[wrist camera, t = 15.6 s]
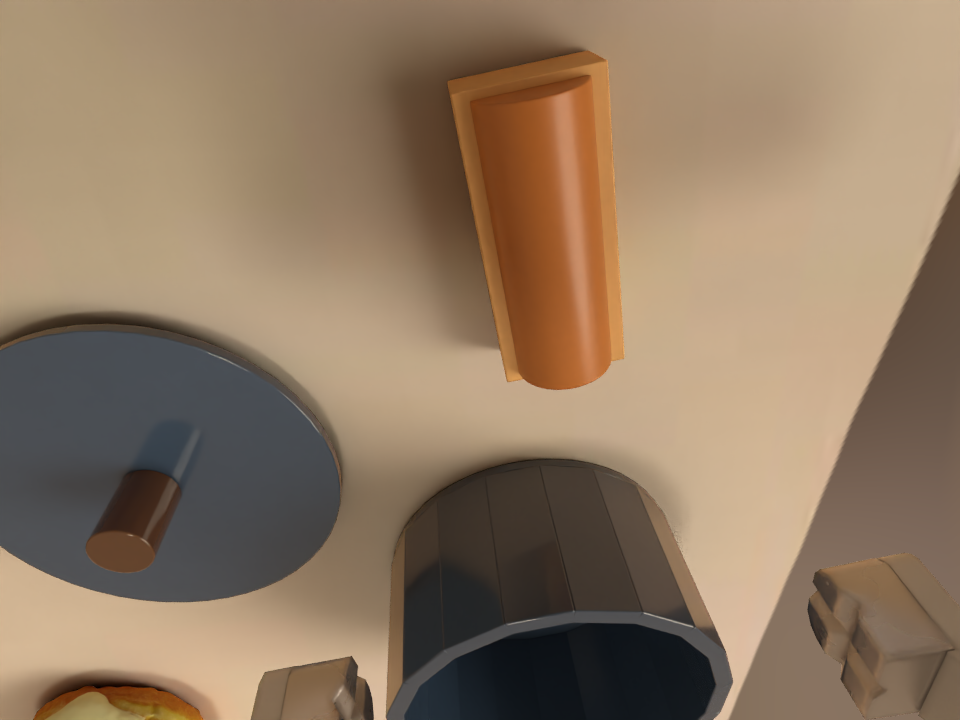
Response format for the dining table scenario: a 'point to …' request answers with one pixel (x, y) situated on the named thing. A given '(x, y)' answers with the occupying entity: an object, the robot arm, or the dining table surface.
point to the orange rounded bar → (545, 214)
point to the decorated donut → (117, 705)
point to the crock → (548, 604)
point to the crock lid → (157, 465)
